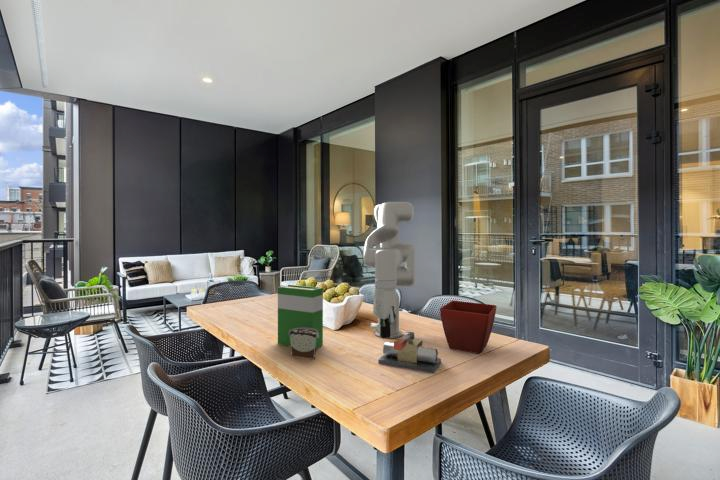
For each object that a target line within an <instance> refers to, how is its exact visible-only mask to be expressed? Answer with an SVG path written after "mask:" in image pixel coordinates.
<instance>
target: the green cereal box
mask: <svg viewBox="0 0 720 480" xmlns="http://www.w3.org/2000/svg"><path fill="white" fill-rule="evenodd" d="M323 312H324V288H323V287H321V286H320V287H318V286H309V285H297V284H287V286H277V344H278V345H284V346H289V347H291V344H290V335H288V333H289V330H291V329H294V328H302V327H307V328H314V329H316V330H318V333H319V338H318V339H317V346H316V349H317V347H318V348H320V347H321V346H323V345H324V344H323V343H324V340H323V339H324V338H323V337H324V334H323V333H324V331H323V330H324V329H323V327H324V326H323V325H324V323H323V322H324V319H323V318H324V315H323V314H324V313H323Z"/></svg>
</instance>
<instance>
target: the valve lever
mask: <svg viewBox="0 0 720 480" xmlns="http://www.w3.org/2000/svg"><path fill="white" fill-rule="evenodd" d="M413 339H415V332H413V331H406V332H405V335H403V336H402V337H401V338H398V339H396V340H395V341H394V349H396V350H402V349H403V348H404V347H405V346H406V344H407V343H408V342H409V341H410V340H413Z"/></svg>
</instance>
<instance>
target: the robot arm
mask: <svg viewBox="0 0 720 480" xmlns="http://www.w3.org/2000/svg"><path fill="white" fill-rule="evenodd" d="M373 211H374V213H373V214H374V218H375V221H376V224H377V228H376V229H375V230H373V231H372V232H371V233H370V234H369V235H368V236H367V238H366V239H365V242H364V246H363V247H364V249H363V263H364V266H365V267H367V268H369V269H374V293H373V303H372V304H373V307H372V312H373V315H374V316H376V317H377V320H378V321H377V323H374V322H371V323H370V329H375V330H374V335H375V336H377V337H379V338H382V339H394V338H395V339H396V338H400V337H401V336H402V335H403V331H402V330H400V296H399V293H398V292H397V288H411V287H413V286H414V285H415V281H416V251H415V246H414V244H413V243H411V242H400V240H399V235H400V233H399V228H400V224H399V223H411V222H412V221H413V220H414V216H415V209H414V206H413V204H412V203H411V202H409V201H387V202H383V203H379V204H377V205H375V206H374V210H373ZM378 245H379V247H376V246H378ZM402 264H404V265H402ZM402 337H403V336H402Z"/></svg>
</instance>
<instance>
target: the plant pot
mask: <svg viewBox="0 0 720 480" xmlns="http://www.w3.org/2000/svg"><path fill="white" fill-rule="evenodd" d="M439 312H440V318H441V319H440V320H441V325H442V329H443V332H444V337H445V340H446V342H447V345H448V348H449V350H457V351H462V352H467V353H468V352H469V353H474V354H482V353H483V352H484V350H485V349H486V346H488V343H489V341H490V337H491V334H492V330H493V328H494V323H495V319H496V312H497V305H495V304H488V303H487V304H486V303H479V302H471V301H470V302H468V301H461V300H450V301H449V302H447V304H445V305H443V306H441V307H440V308H439Z"/></svg>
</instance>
